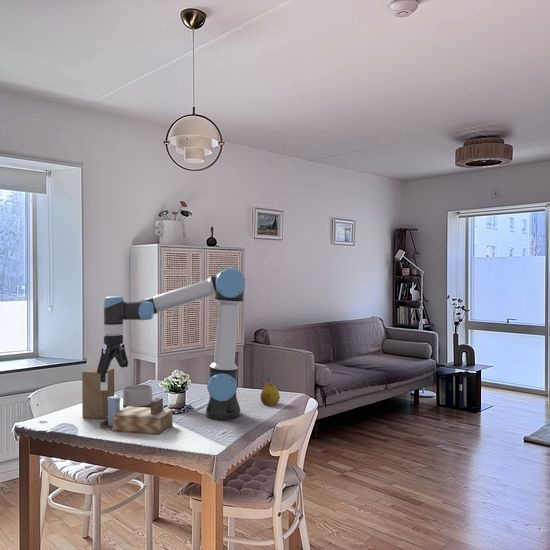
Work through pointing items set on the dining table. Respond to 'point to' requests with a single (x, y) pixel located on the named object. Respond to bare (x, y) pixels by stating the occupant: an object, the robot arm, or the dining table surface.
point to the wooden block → (96, 394)
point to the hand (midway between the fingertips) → (113, 386)
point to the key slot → (105, 424)
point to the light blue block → (112, 408)
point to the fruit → (270, 394)
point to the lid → (145, 410)
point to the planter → (137, 396)
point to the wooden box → (142, 424)
